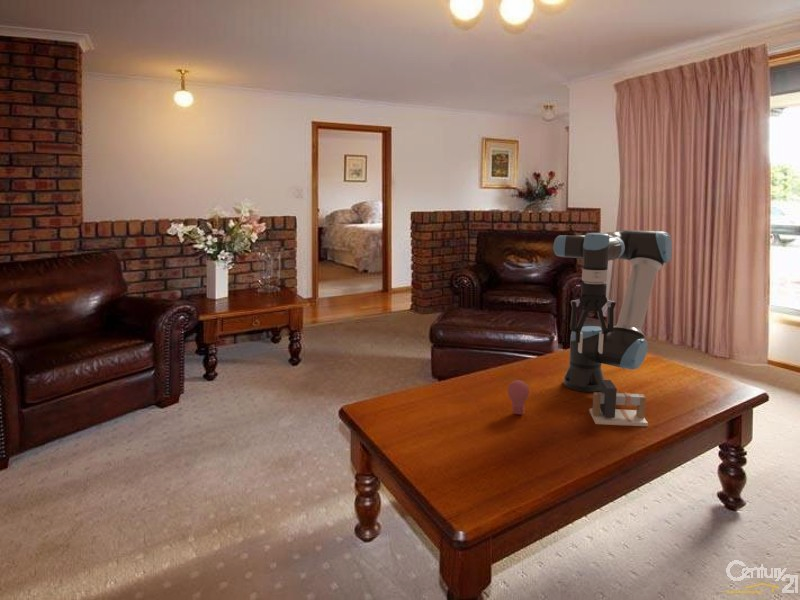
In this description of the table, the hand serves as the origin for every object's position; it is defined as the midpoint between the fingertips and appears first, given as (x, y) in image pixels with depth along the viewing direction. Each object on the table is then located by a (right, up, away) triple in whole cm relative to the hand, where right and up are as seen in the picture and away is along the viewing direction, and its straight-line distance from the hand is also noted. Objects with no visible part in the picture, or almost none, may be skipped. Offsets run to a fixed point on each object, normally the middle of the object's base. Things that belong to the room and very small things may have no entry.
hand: (590, 352), depth 172 cm
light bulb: (-22, -22, +8) cm, 32 cm away
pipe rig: (+10, -22, +3) cm, 25 cm away
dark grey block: (+7, -20, +3) cm, 22 cm away
